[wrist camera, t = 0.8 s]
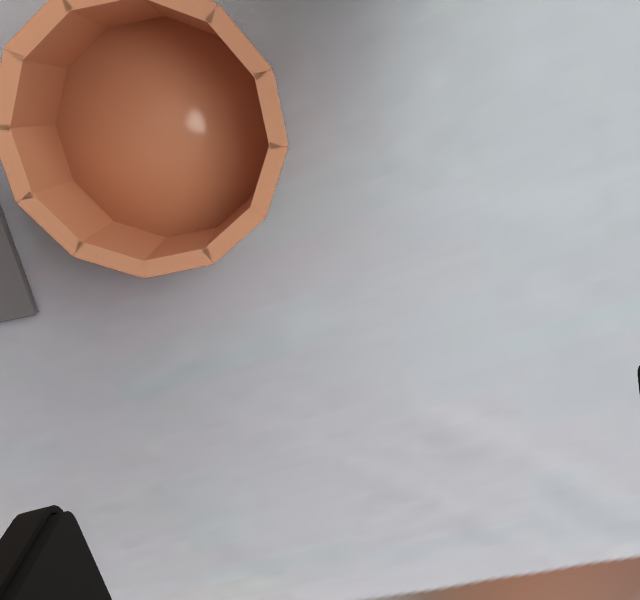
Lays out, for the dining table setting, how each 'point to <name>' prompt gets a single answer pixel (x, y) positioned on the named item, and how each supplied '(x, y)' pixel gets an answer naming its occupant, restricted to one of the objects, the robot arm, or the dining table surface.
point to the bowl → (140, 131)
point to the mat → (13, 280)
